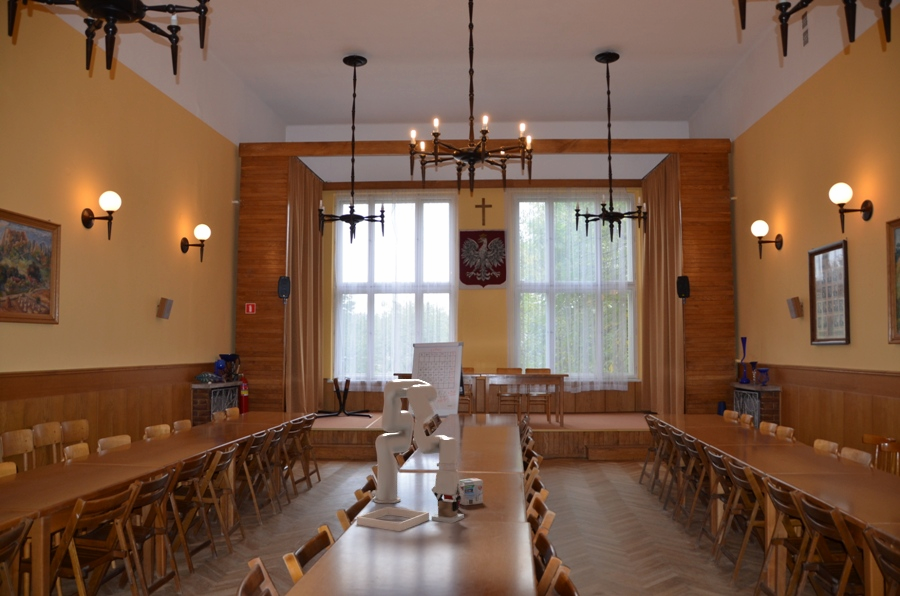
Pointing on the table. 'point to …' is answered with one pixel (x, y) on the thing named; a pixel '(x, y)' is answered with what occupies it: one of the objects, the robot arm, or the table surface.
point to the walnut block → (446, 508)
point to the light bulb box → (472, 491)
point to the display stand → (447, 519)
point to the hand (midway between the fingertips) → (447, 509)
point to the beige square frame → (371, 521)
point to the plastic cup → (451, 495)
